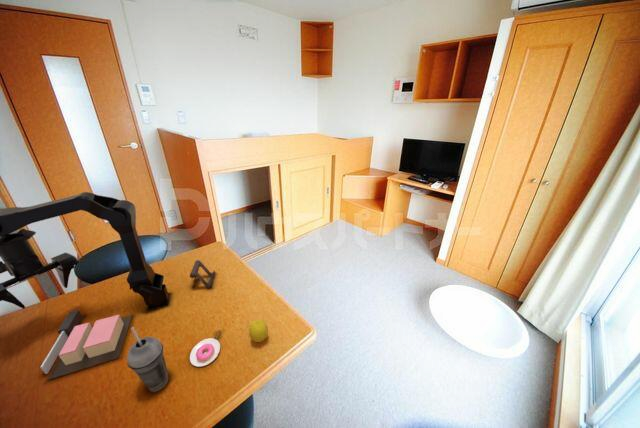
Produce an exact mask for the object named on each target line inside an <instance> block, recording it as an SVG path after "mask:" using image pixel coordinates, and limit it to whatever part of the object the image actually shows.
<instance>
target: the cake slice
mask: <svg viewBox="0 0 640 428" xmlns="http://www.w3.org/2000/svg"><path fill="white" fill-rule="evenodd" d="M91 330H92V325H91V323H90V322H85V323H82V324H79V325H78V326H75V327H74V329H73V330H72V332H71V334H70V336H69V337H68V339H67V341H66V342H65V344H64V346H63V348H62V349H61V351H60V353H59V355H58V356H59V359H60V358H61V359H62V361H63V362H64V364H65V365H68V364H72V363H75V362H78V361H81V360H82V359H83V356H84V354H85V351H84V349H83V347H84V344H85V342H86V340H87V338H88V336H89V334H90V332H91Z"/></svg>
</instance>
